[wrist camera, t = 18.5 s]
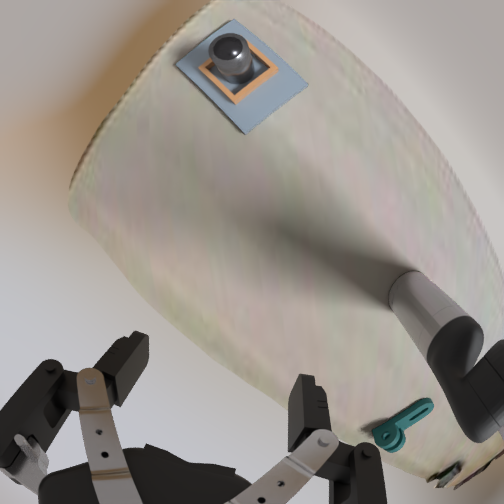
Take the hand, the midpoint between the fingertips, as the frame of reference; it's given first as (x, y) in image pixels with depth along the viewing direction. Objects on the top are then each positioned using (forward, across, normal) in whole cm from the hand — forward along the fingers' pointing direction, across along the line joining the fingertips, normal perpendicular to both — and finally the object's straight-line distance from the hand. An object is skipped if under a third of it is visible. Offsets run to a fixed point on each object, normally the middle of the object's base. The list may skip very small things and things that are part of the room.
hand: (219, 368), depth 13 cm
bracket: (+34, -50, +40) cm, 72 cm away
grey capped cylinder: (+32, +9, -25) cm, 41 cm away
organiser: (+33, +9, -25) cm, 42 cm away
